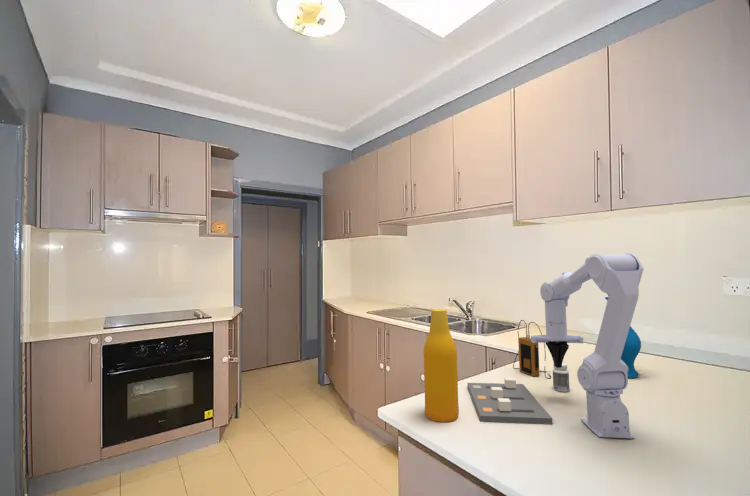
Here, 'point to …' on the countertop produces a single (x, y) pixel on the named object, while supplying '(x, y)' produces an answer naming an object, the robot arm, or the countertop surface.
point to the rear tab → (510, 382)
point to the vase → (631, 351)
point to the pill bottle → (561, 378)
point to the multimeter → (529, 355)
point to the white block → (504, 404)
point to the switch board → (521, 405)
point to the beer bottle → (440, 370)
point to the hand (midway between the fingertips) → (557, 366)
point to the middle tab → (496, 392)
